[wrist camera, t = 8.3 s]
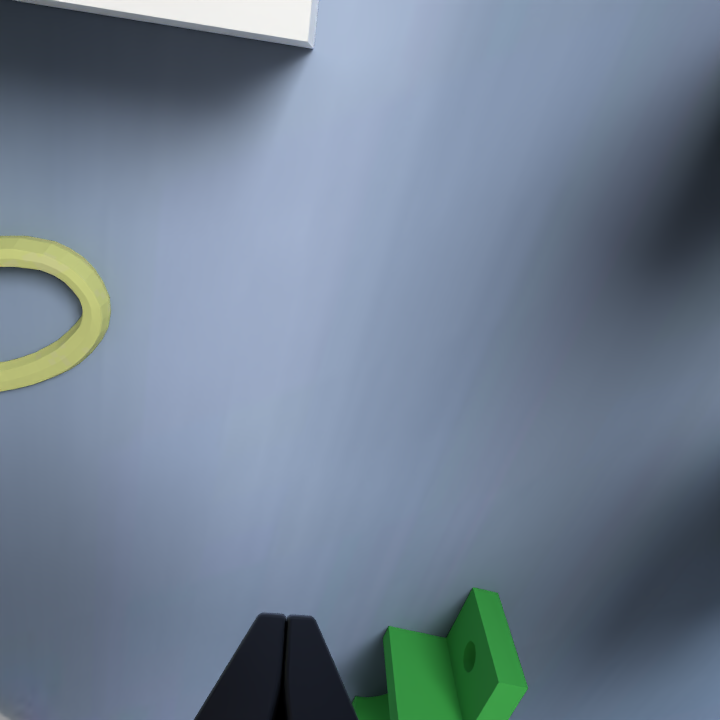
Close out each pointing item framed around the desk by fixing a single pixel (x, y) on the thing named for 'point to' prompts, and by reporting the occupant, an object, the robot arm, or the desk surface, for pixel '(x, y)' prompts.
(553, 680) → the desk surface
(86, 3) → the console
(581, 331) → the desk surface
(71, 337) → the key
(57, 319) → the desk surface
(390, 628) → the pipe clamp
